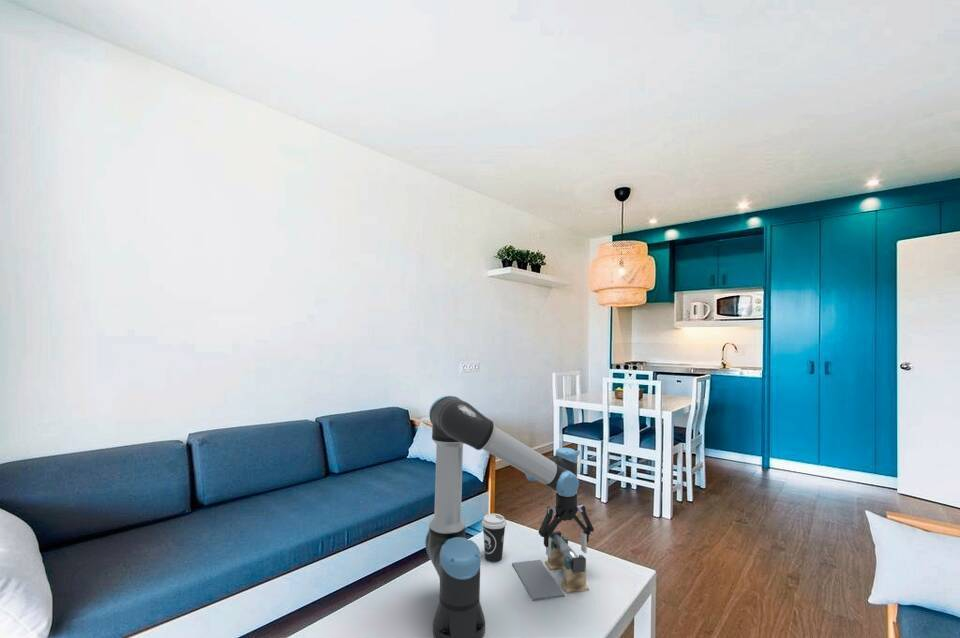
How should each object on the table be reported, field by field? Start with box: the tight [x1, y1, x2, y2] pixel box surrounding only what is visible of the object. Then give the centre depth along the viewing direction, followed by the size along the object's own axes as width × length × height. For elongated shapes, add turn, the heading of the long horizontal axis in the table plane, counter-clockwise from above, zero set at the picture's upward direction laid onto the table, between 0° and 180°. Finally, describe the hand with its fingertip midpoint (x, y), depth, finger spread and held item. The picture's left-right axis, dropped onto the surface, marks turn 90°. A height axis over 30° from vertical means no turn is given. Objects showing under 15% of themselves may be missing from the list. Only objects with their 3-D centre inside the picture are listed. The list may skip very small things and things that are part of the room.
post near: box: [560, 554, 590, 594], centre depth 144 cm, size 8×5×10 cm, turn 103°
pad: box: [511, 559, 566, 602], centre depth 148 cm, size 11×22×1 cm, turn 13°
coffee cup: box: [481, 513, 507, 563], centre depth 162 cm, size 10×10×15 cm
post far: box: [544, 535, 569, 571], centre depth 157 cm, size 8×5×10 cm, turn 103°
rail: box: [549, 530, 586, 573], centre depth 151 cm, size 20×4×4 cm, turn 13°
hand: (566, 553), depth 151 cm, fingers open, 13 cm apart
